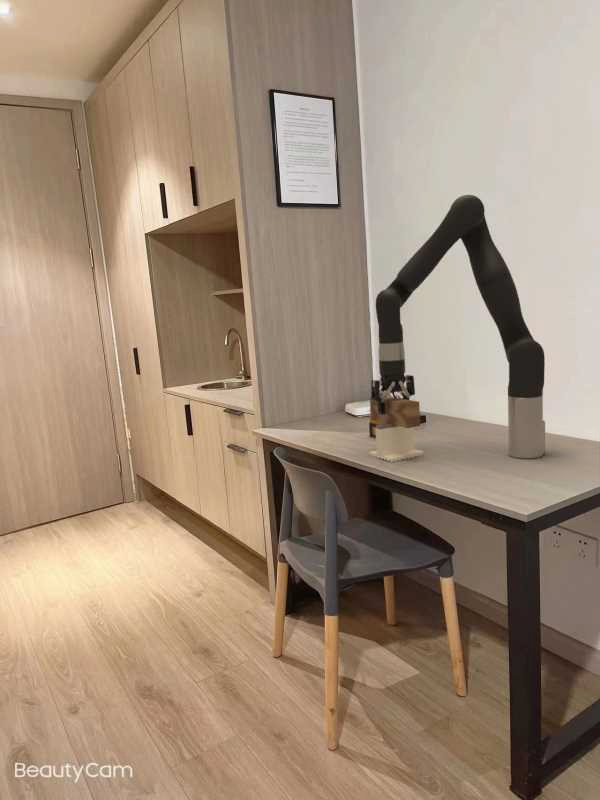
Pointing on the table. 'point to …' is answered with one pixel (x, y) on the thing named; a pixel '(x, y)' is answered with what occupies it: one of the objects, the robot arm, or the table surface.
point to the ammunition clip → (373, 426)
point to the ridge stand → (394, 443)
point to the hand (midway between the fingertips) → (394, 412)
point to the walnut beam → (397, 412)
